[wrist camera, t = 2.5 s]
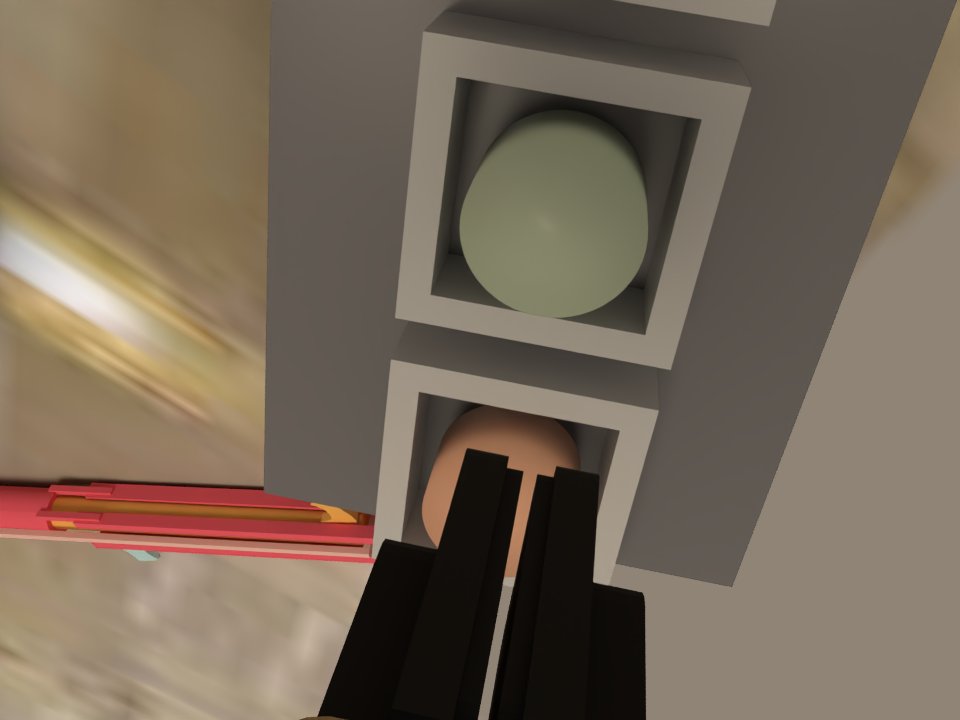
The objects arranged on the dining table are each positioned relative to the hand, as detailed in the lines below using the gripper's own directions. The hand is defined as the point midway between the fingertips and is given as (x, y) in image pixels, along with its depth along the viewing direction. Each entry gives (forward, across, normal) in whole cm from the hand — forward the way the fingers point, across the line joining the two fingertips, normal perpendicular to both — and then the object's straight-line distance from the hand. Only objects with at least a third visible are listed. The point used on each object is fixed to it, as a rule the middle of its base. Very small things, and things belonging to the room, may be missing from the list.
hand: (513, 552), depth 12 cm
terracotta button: (+12, 0, +7) cm, 14 cm away
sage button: (+12, 0, -1) cm, 12 cm away
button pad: (+15, 0, -1) cm, 15 cm away
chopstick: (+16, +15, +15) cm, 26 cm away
